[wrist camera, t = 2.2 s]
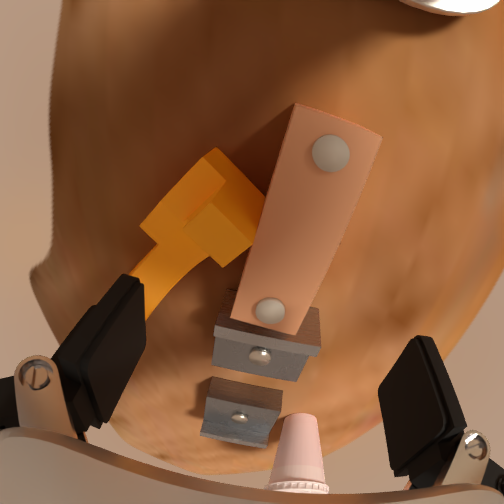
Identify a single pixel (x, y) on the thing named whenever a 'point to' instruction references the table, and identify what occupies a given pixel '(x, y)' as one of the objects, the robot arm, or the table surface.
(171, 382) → the table surface
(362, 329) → the table surface
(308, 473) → the pink drink cup
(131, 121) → the table surface
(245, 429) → the book ends
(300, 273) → the peach two-stud bar
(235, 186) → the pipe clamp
